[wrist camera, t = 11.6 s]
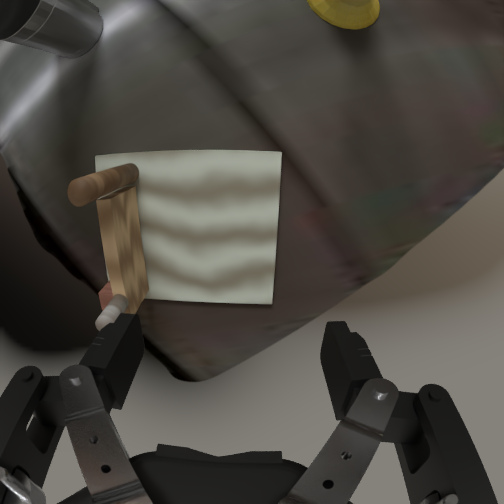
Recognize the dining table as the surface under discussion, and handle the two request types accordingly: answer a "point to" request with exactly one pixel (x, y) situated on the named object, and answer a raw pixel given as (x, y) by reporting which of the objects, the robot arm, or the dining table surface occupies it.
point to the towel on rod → (197, 220)
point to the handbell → (347, 12)
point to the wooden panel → (122, 253)
